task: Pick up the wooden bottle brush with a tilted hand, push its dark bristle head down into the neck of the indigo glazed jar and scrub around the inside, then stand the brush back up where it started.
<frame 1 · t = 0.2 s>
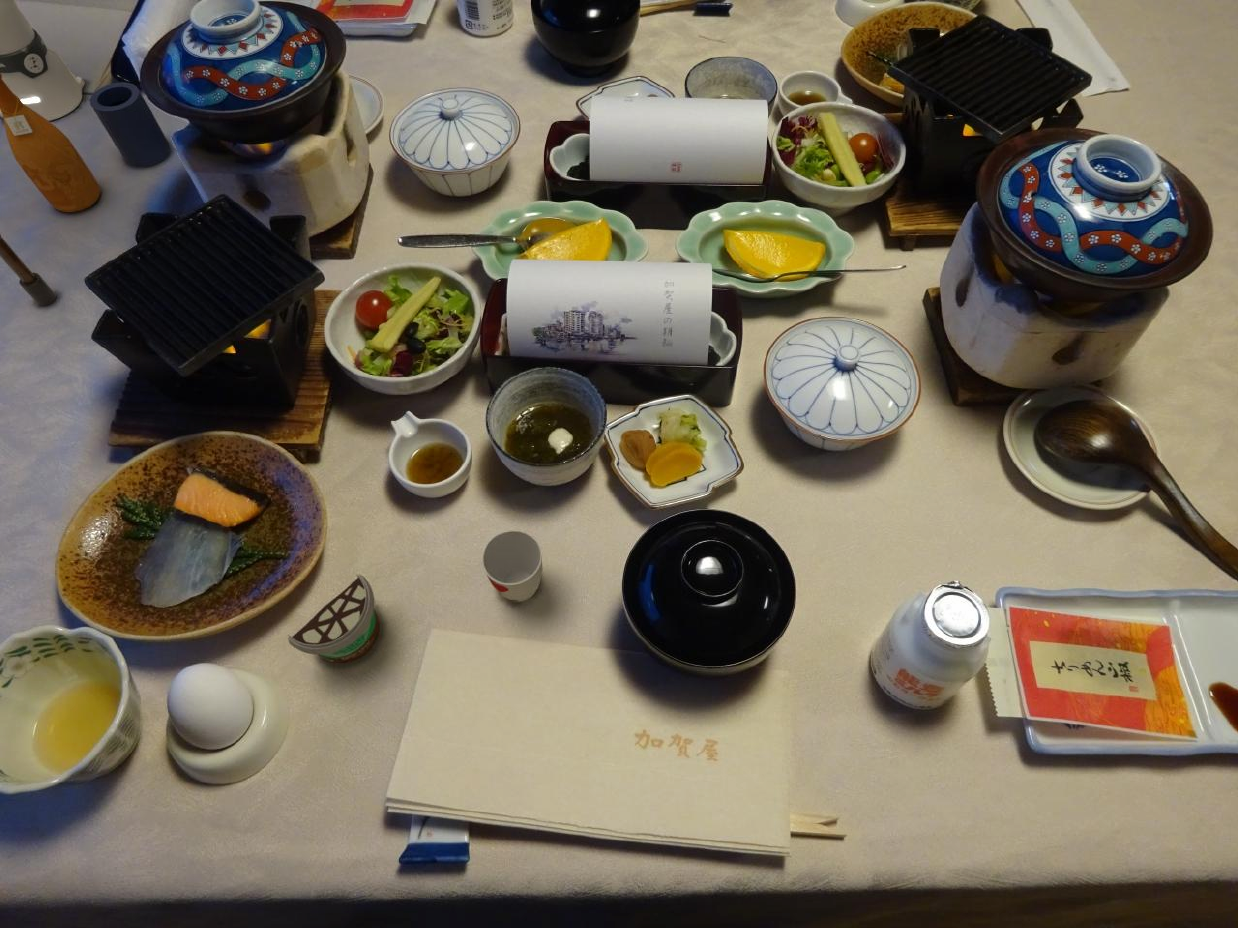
food container: (359, 643, 110), on the table
wine bottle: (78, 199, 158), on the table
bottle brush: (46, 299, 144), on the table
glazed jar: (148, 153, 165), on the table
cup: (519, 586, 115), on the table
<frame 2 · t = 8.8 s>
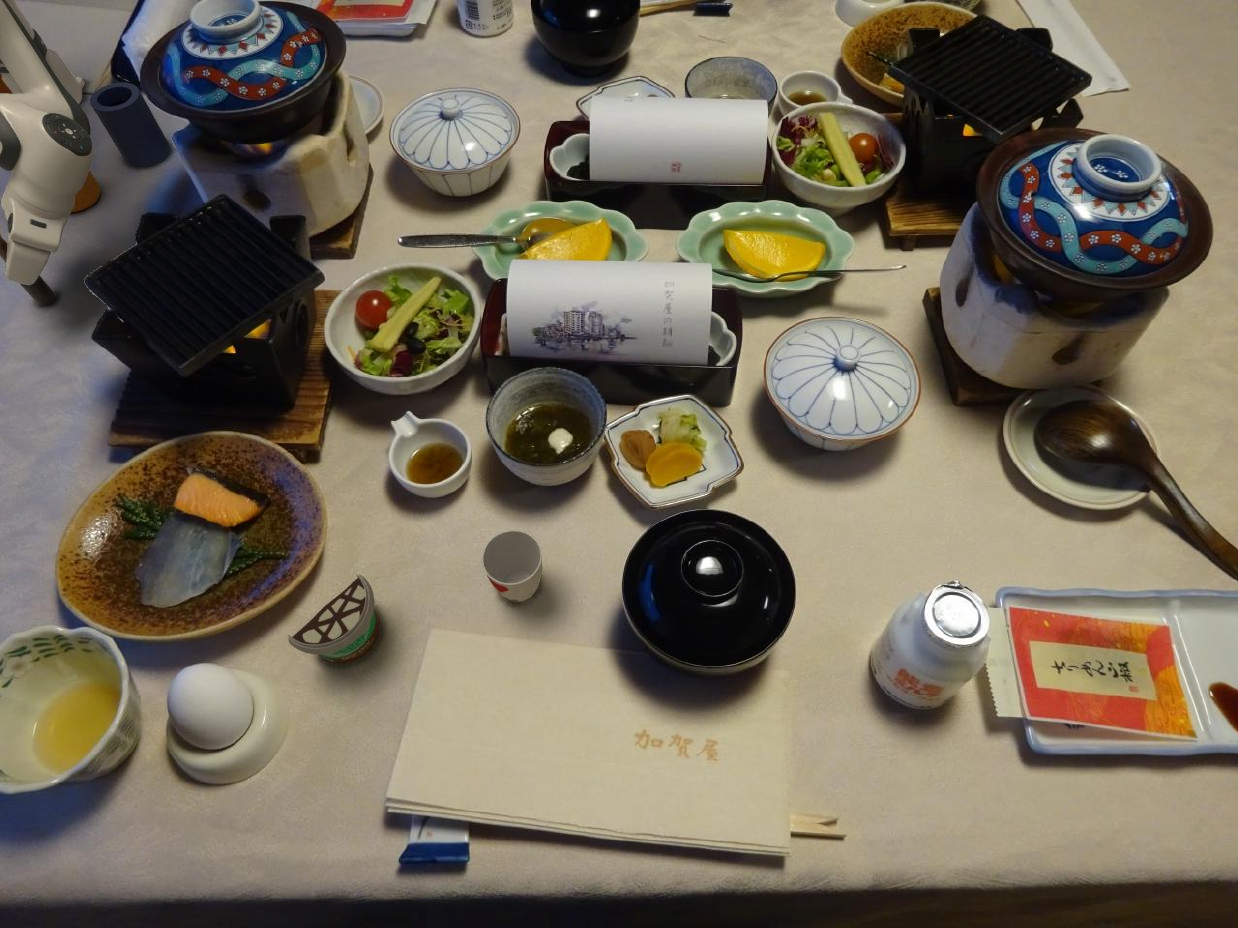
hand: (11, 264, 136), 9 cm above the table, tool tilted 45°, fingers closed on bottle brush, 2 cm apart
bottle brush: (46, 299, 144), on the table, touching gripper
everything else where it was.
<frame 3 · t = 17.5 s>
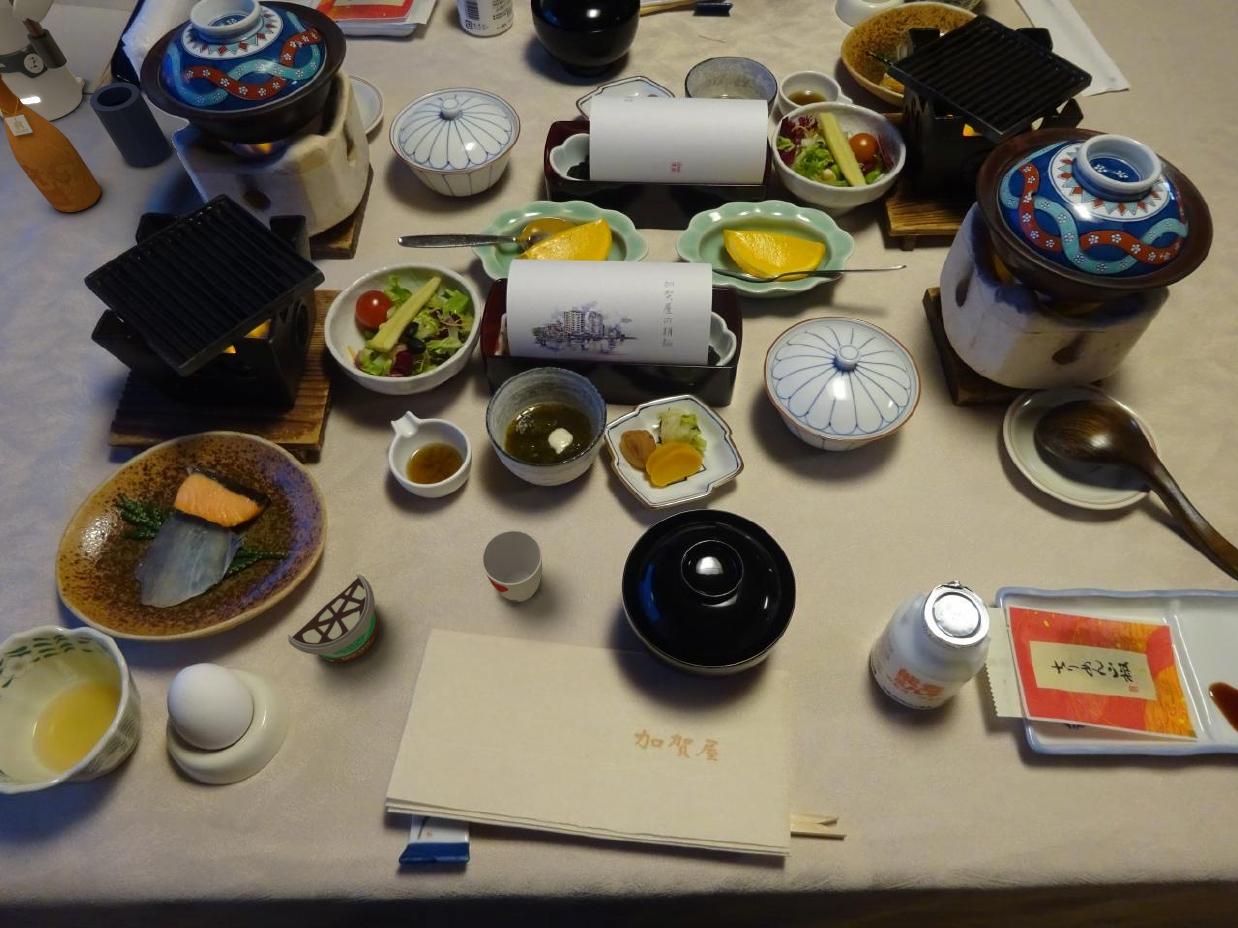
hand: (18, 11, 126), 37 cm above the table, tool tilted 45°, fingers closed on bottle brush, 2 cm apart
bottle brush: (56, 63, 134), point 28 cm above the table, touching gripper
everything else where it was.
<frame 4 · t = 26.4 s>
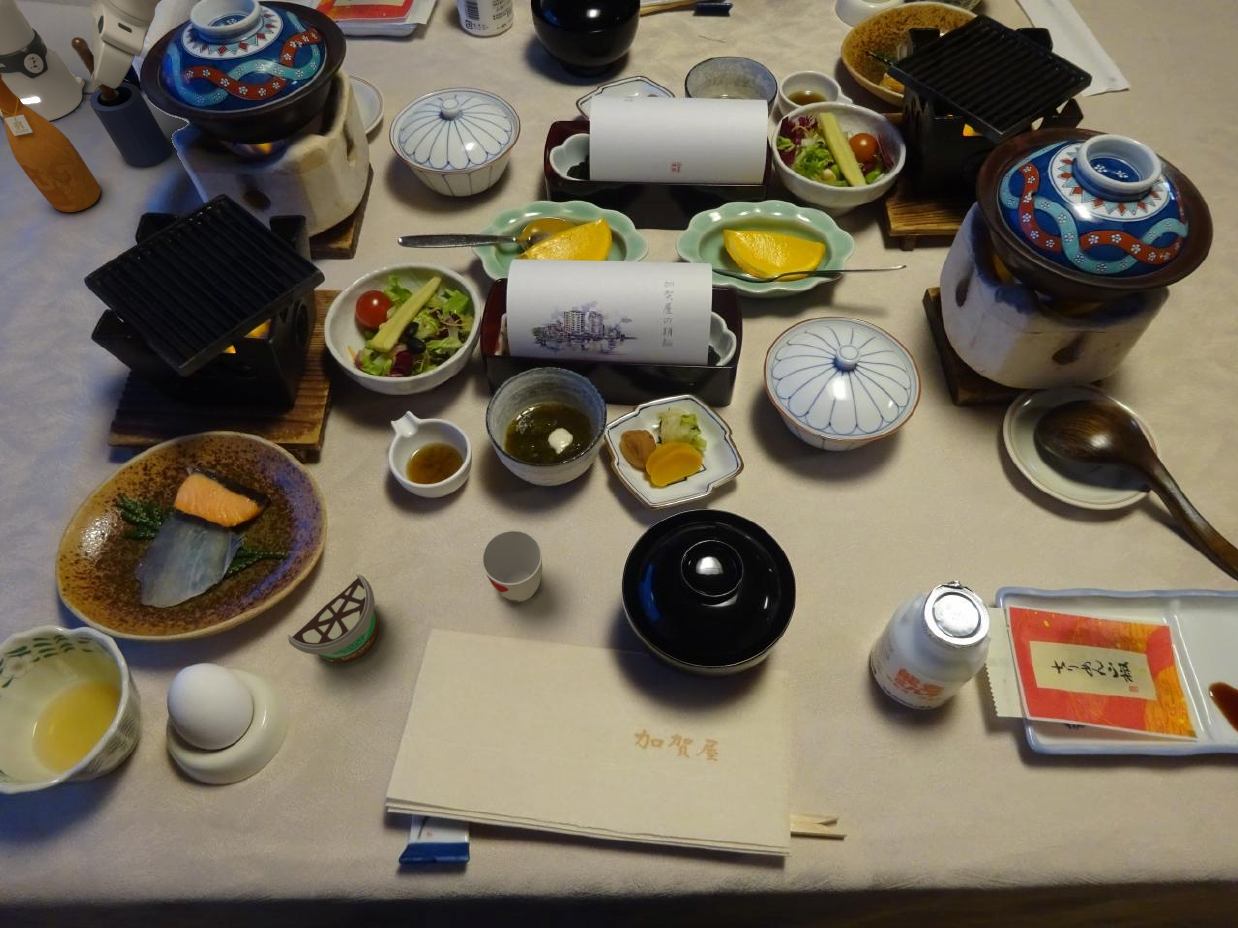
hand: (94, 77, 150), 17 cm above the table, tool tilted 45°, fingers closed on bottle brush, 2 cm apart
bottle brush: (123, 118, 158), point 8 cm above the table, touching gripper
everything else where it was.
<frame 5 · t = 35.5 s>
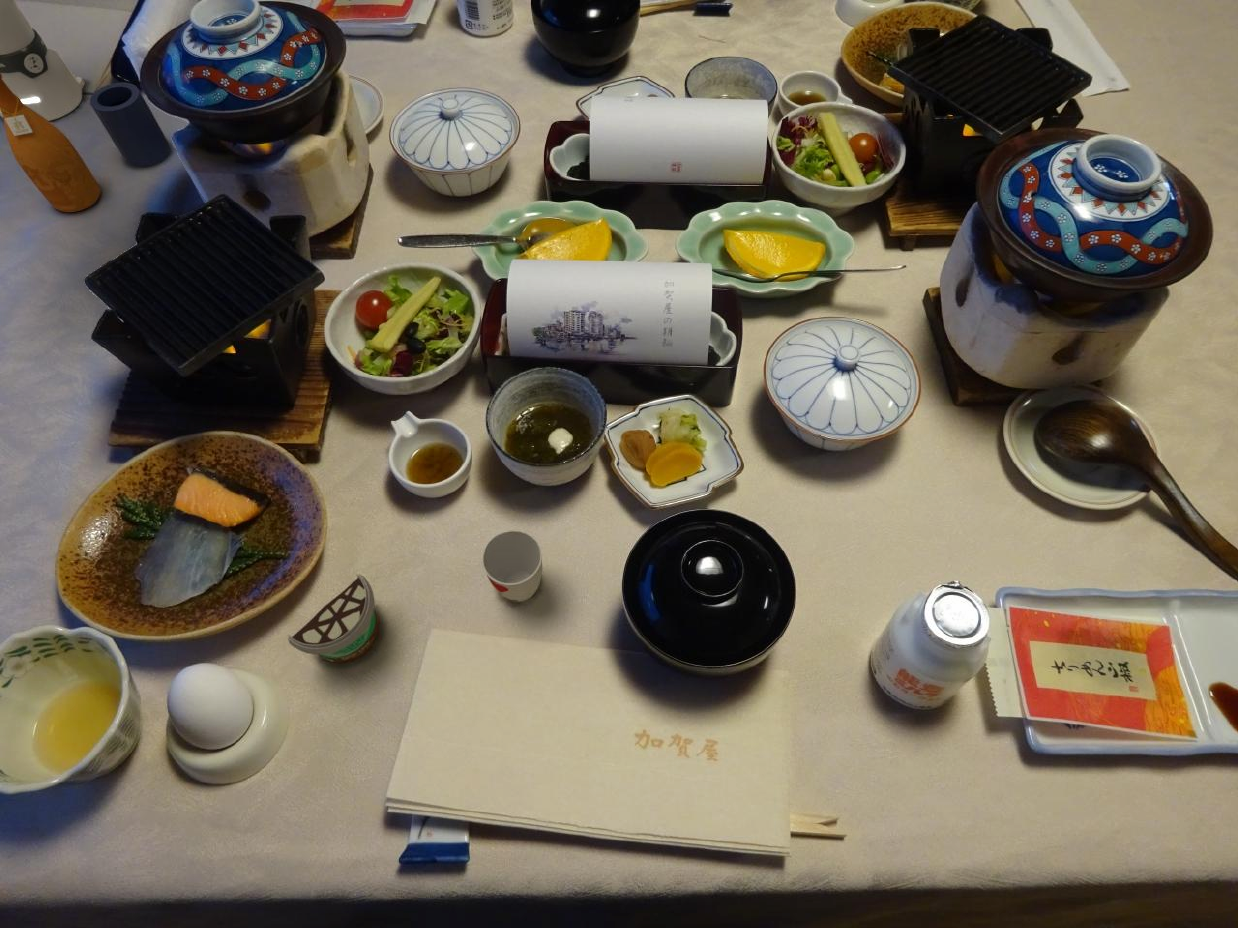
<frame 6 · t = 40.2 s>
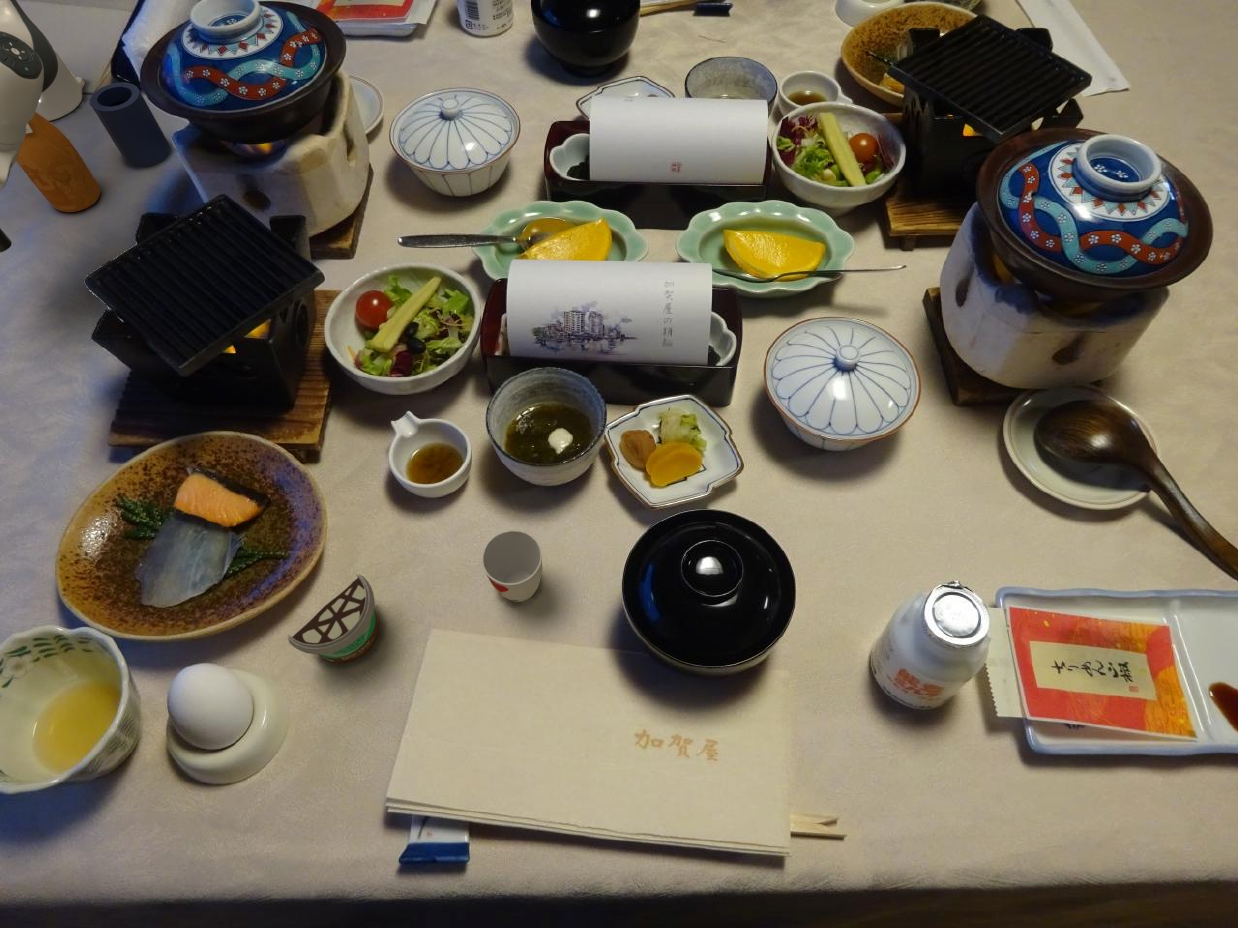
bottle brush: (1, 245, 133), point 13 cm above the table, touching gripper
everything else where it was.
when the fingers open (9 cm above the table, at t = 43.8 s): bottle brush stays where it is, on the table.
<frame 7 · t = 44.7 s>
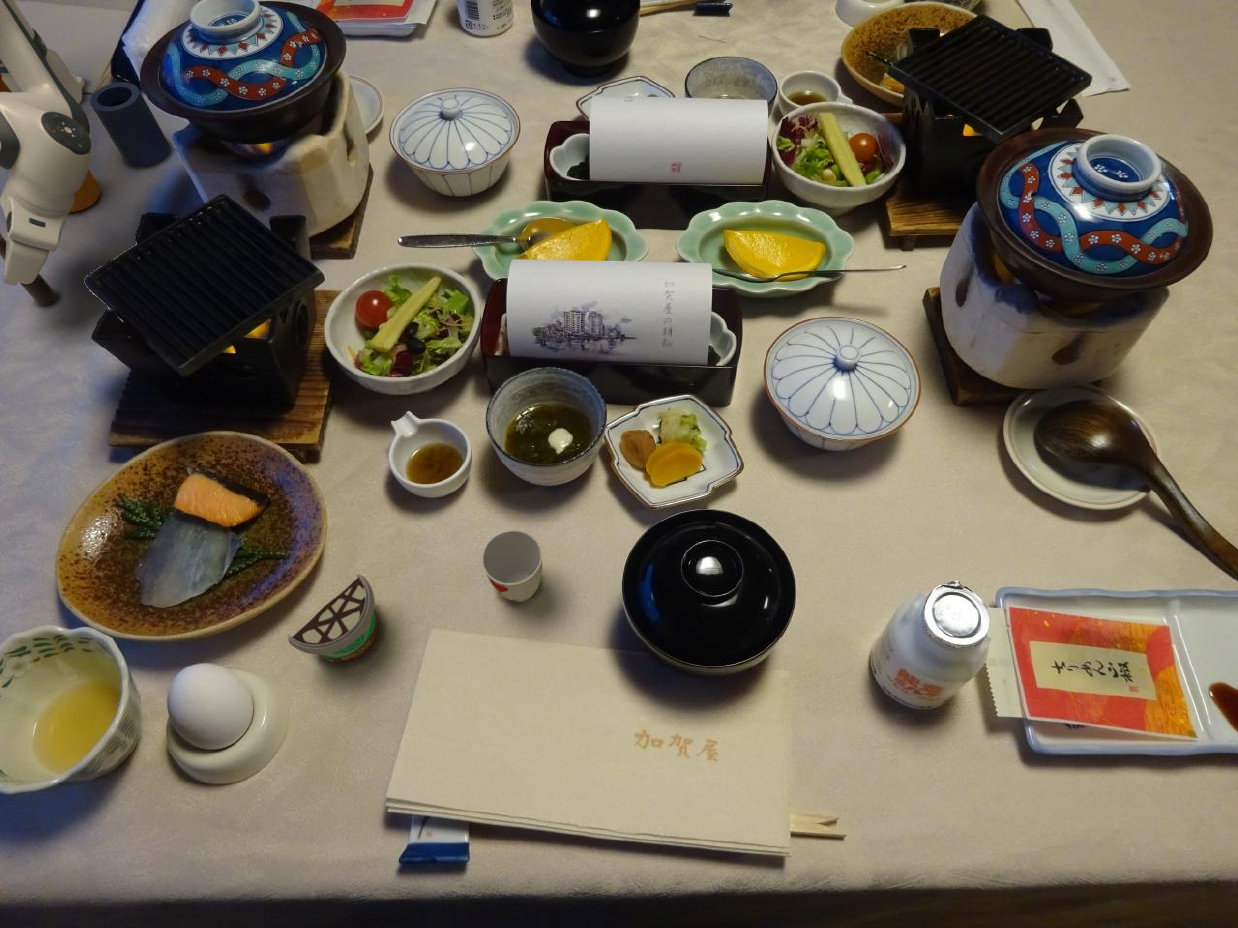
hand: (10, 263, 136), 9 cm above the table, tool tilted 45°, fingers open, 8 cm apart
bottle brush: (47, 299, 144), on the table
everything else where it was.
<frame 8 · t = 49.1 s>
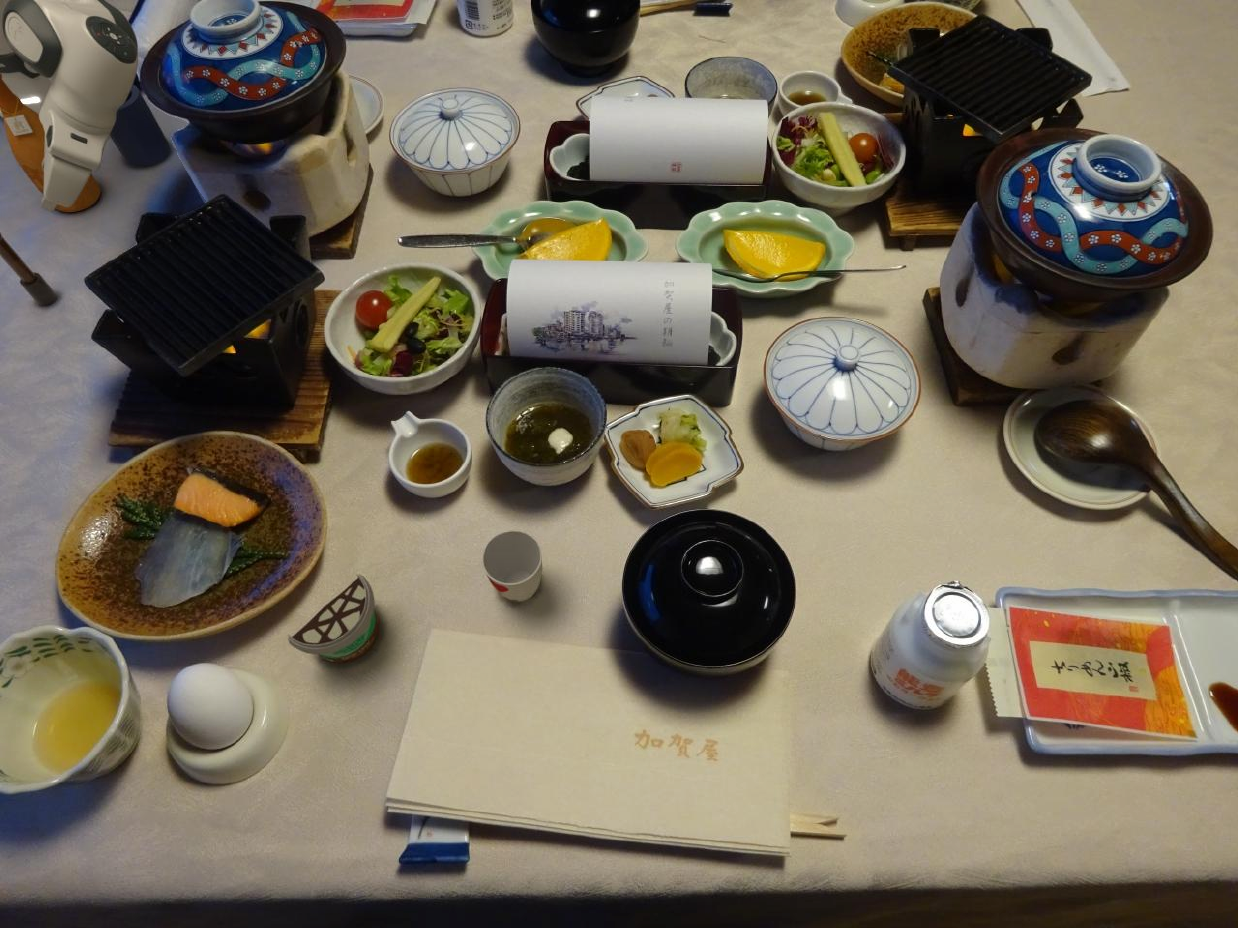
hand: (47, 188, 128), 21 cm above the table, tool tilted 45°, fingers open, 8 cm apart
nothing on the table moved.
at the end: bottle brush tilted 0°; the gripper is holding nothing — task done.
